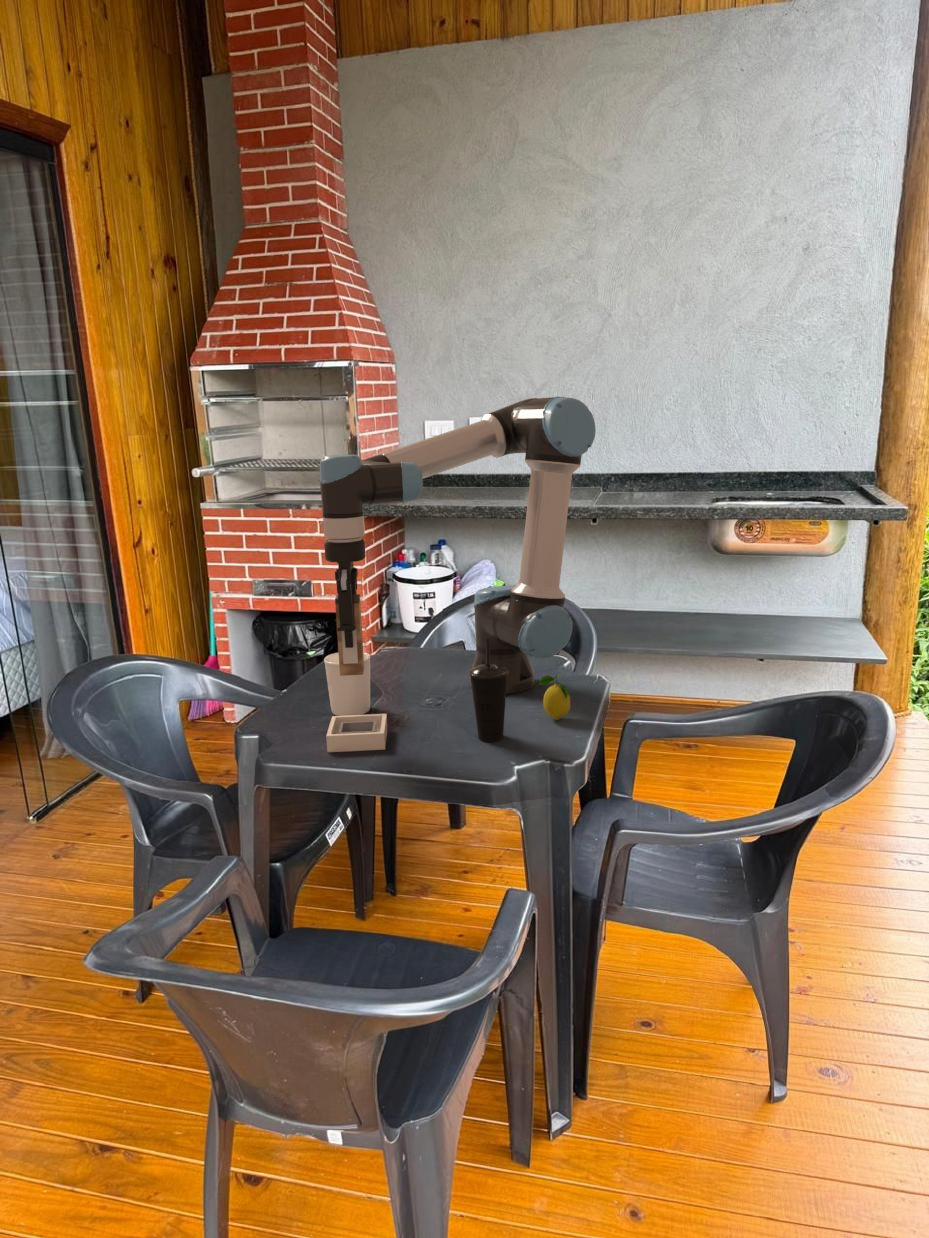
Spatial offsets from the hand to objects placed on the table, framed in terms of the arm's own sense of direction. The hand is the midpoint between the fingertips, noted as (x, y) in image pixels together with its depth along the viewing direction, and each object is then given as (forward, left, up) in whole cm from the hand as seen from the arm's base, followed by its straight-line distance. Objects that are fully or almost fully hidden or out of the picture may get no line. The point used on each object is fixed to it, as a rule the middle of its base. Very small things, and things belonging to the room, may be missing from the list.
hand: (351, 659), depth 170 cm
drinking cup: (-26, +2, -17) cm, 31 cm away
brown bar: (0, 0, -3) cm, 3 cm away
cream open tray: (0, 0, -17) cm, 17 cm away
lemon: (-40, -6, -17) cm, 44 cm away
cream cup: (+3, -18, -17) cm, 25 cm away
